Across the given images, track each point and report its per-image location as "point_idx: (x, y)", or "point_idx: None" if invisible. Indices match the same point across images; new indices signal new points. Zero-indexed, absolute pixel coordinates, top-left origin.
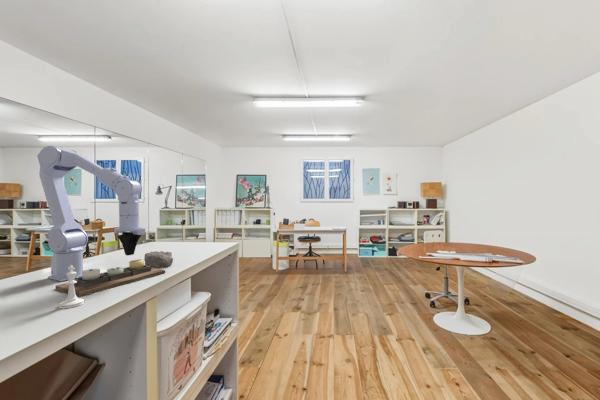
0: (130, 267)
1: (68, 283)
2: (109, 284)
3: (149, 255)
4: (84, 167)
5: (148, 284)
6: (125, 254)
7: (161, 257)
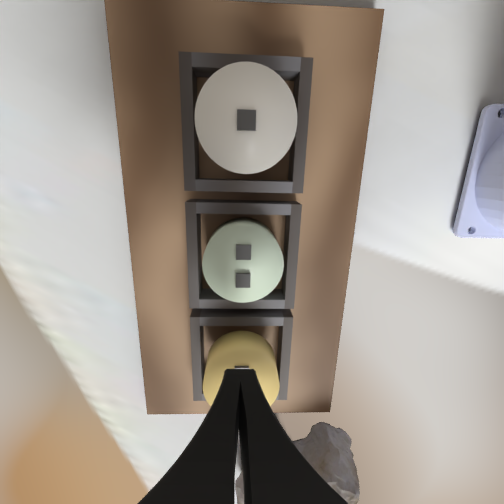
0: (240, 336)
1: None
2: (129, 160)
3: None
4: None
5: (34, 273)
6: (251, 371)
7: None
